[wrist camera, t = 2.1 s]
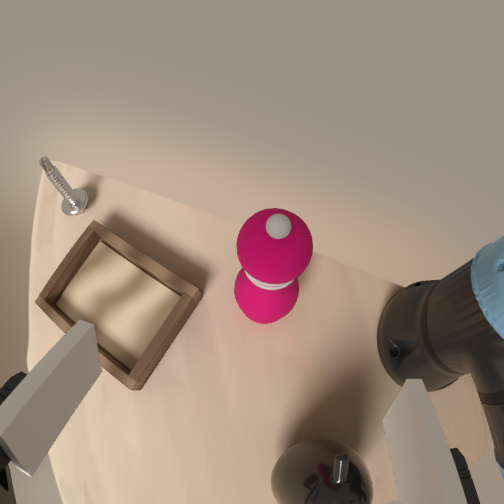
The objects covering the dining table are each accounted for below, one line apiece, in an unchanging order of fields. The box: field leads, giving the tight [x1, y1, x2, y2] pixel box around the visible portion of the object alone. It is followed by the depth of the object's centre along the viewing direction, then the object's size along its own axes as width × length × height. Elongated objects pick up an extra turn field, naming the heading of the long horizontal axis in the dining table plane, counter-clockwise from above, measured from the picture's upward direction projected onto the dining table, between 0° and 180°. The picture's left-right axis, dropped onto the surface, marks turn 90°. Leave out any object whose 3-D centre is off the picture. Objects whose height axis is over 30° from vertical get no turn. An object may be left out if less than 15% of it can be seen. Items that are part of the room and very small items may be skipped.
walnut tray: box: [35, 220, 202, 390], centre depth 37 cm, size 18×14×4 cm
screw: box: [39, 156, 88, 216], centre depth 39 cm, size 13×5×5 cm
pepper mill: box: [234, 208, 313, 324], centre depth 30 cm, size 7×7×20 cm
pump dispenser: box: [271, 437, 373, 504], centre depth 24 cm, size 10×10×15 cm
